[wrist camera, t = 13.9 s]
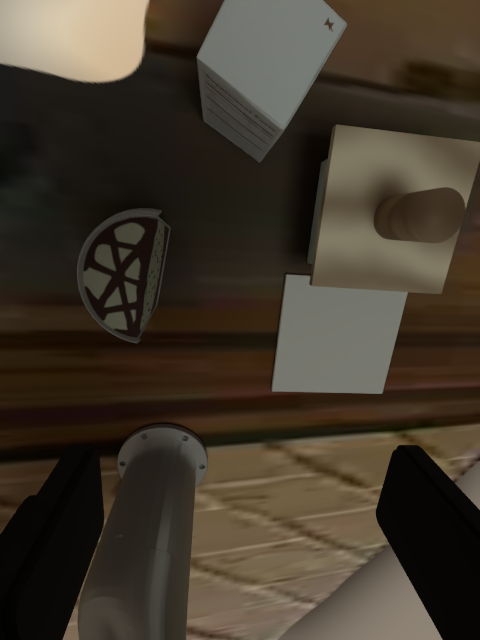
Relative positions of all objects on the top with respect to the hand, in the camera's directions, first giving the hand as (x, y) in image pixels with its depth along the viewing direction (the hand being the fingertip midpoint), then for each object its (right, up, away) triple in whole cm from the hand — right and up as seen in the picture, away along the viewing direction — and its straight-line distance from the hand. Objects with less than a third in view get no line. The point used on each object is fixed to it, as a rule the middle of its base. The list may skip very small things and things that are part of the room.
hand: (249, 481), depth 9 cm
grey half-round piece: (-12, +12, +25) cm, 30 cm away
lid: (+14, +15, +19) cm, 28 cm away
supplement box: (+1, +27, +22) cm, 34 cm away
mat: (+13, +3, +30) cm, 33 cm away
